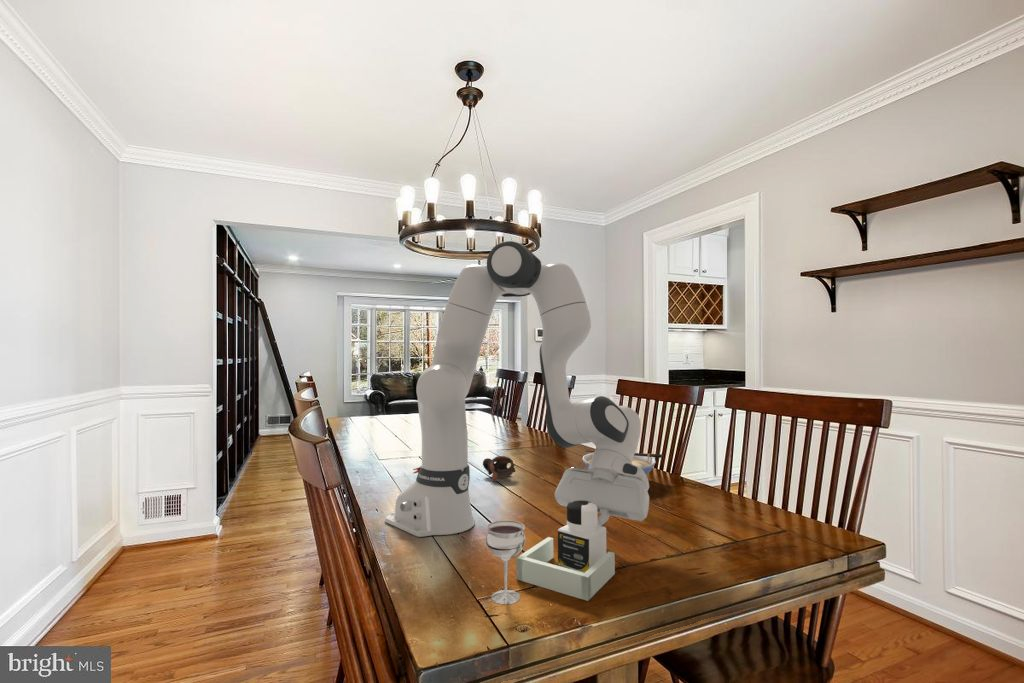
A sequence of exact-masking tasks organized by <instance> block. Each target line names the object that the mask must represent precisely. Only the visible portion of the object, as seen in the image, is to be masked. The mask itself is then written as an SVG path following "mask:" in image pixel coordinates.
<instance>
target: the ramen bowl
mask: <svg viewBox="0 0 1024 683" xmlns="http://www.w3.org/2000/svg"><path fill="white" fill-rule="evenodd" d="M594 451H595V450H585V452H589V453H587V454H585V455H583V456H582V461H583V463H584V465H585V466H586V469H588V468H589V466H590V463H591V460H592V457H593V454H594ZM662 457H663V454H662V453H661V454H659V453H644V452H643V453H642V452H641V453H640V452H635V454H634V455H633V457H632V464H633V465H635V466H638V467H640V468H642V469H643V471H644V473H645V474H646V476H648V474H650V473H651V471H652V469H653V468H654V466H655V464H656V462H657V461H656V459H655V458H659V459H660V458H662Z"/></svg>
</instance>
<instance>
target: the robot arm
mask: <svg viewBox="0 0 1024 683" xmlns="http://www.w3.org/2000/svg"><path fill="white" fill-rule="evenodd" d="M530 295H531V296H532V297H533V298H534V301H535V302H536V305H537V308H538V312H539V315H540V316H539V317H540V320H541V324H542V326H541V328H542V341H541V344H540V347H539V364H540V365H539V366H540V371H541V379H542V385H543V392H544V399H545V405H546V406H545V407H546V422H545V423H546V430H547V433H548V435H549V437H550V439H551V441H553V442H554V444H556V445H557V446H558V447H561V448H563V449H569V448H572V447H577V446H579V445H582V444H588V443H592V444H594V445H595V450H593V451H594V452H593V453H594V454H593V457H592V460H591V463H590V466H589V468H587V467H586V468H583V467H576V466H572V467H571V468H567V469H565V470H564V471H563V474H562V477H561V479H560V481H559V483H558V485H557V486H556V489H555V491H554V498H555V501H556V502H557V503H558V504H559V505H560V506H562V507H566V508H567V505H568V504H569V503H571V502H573V501H579V500H582V501H589V502H591V503H594V504H595V505H596V506H597V512H598V514H600V515H599V517H598V525H599V526H603V525H604V524H605V523H606V522H607V521H609V519H610V516H612V517H617V518H622V519H627V520H633V521H639V522H643V521H644V520H645V519H646V518H647V517H648V513H649V506H650V495H649V492H648V491H649V488H650V483H649V482H650V481H649V479H648V475H646V474H645V473H644V471H643V469H642V468H640V467H638V466H635V465H633V464H632V457H633V455H634V454H635V453H637V452H636V451H637V449H638V445H639V443H640V436H641V426H642V423H641V418H640V416H639V414H638V413H637V412H636V411H635V410H633V409H632V408H630V407H629V406H625V405H617V404H616V403H615V402H614V401H613V400H611V399H610V398H609V397H607V396H601V395H599V396H594V397H589V398H586V399H583V400H580V401H575V402H572V401H571V400H570V395H569V393H570V392H569V387H568V380H567V373H566V372H567V371H566V368H567V364H568V361H569V359H570V358H571V356H572V355H573V354H574V352H575V351H576V350H577V349H579V347H580V346H581V345H582V344H583V343H584V342H585V340H587V337H588V335H589V333H590V331H591V327H592V326H591V325H592V321H591V314H590V312H589V311H590V310H589V307H588V305H587V301H586V297H585V295H584V292H583V290H582V286H581V285H580V282H579V280H578V278H577V276H576V275H575V273H574V271H573V269H572V268H571V267H570V266H569V265H568V264H566V263H560V262H554V263H550V264H549V263H548V264H545V265H543V264H542V261H541V260H540V258H538V257H537V256H536V255H535V254H534V253H533V252H532V251H531V249H529V248H528V247H526V246H525V245H524V244H522V243H521V242H517V241H513V240H505V241H501V242H499V243H497V244H495V245H494V246H493V247H492V249H491V250H490V251H489V253H488V256H487V258H486V265H480V264H470V265H466V266H465V267H464V268H462V269H461V271H460V273H459V275H458V276H457V278H456V279H455V282H454V283H453V287H452V289H451V292H450V294H449V295H448V300H447V303H446V305H445V309H444V312H443V315H442V317H441V318H442V319H441V322H440V324H439V328H438V330H437V333H436V342H435V347H434V352H433V356H432V357H433V358H432V361H431V365H430V366H429V367H427V368H426V369H424V371H423V372H421V374H420V376H419V377H418V380H417V382H416V388H415V389H416V390H415V391H416V397H417V407H418V418H419V424H420V430H421V432H420V433H421V465H420V466H419V467H416V468H413V469H412V471H414V472H412V473H413V474H417V475H416V478H415V481H414V482H412V483H411V484H410V485H409V486H408V487H407V488H405V489H404V490H402V491H401V493H399V494H398V495H397V497H396V501H395V506H394V507H395V508H394V511H392V512H391V513H390V512H389V514H388V515H386V516H385V519H384V522H385V523H386V524H389V525H391V526H393V527H396V528H398V529H400V530H402V531H404V532H406V533H408V534H411V535H413V536H415V537H418V538H420V537H421V538H422V537H428V536H445V535H446V536H447V535H455V534H458V533H459V534H460V533H463V532H465V531H468V530H469V529H472V527H474V525H475V524H476V523H475V519H474V518H475V517H474V515H473V512H472V506H471V500H470V499H471V498H470V497H471V496H470V493H469V492H470V491H469V489H470V488H469V487H470V480H471V479H470V478H471V477H470V476H471V475H470V474H471V472H470V471H471V469H470V464H468V461H469V459H468V457H469V456H468V451H469V450H468V449H469V448H468V447H469V444H468V441H469V440H468V436H469V435H468V433H469V432H468V424H467V414H466V413H467V412H466V398H467V396H468V395H469V392H470V388H471V385H472V383H473V378H474V375H475V372H476V368H477V364H478V360H479V357H480V352H481V348H482V344H483V342H484V339H485V336H486V333H487V329H488V327H489V324H490V320H491V317H492V314H493V309H494V307H495V305H496V302H497V300H498V298H500V297H503V298H505V297H506V298H508V297H517V298H518V297H519V298H520V297H527V296H530Z"/></svg>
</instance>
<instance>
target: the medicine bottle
mask: <svg viewBox="0 0 1024 683" xmlns="http://www.w3.org/2000/svg"><path fill="white" fill-rule="evenodd" d="M598 514H599V513H598V512H597V506H596V505H595V504H594V503H591V502H589V501H582V500H579V501H573V502H571V503H569V504H568V505H567V507H566V525H564V526H561V527H560V528H558V529H557V564H558V565H557V566H561V567H564V568H568V569H572V570H575V571H579V572H583V573H585V572H586V571H587V570H588V569H589V568H591V567H592V566H593V565H594V564H595V563H596V562H597V561H598V560H600V559H601V558H602V557H603V556H604V555H605V554H606V553H607V527H606V526H603V525H602V526H599V525H598V518H599V517H598Z"/></svg>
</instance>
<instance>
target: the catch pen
mask: <svg viewBox="0 0 1024 683" xmlns="http://www.w3.org/2000/svg"><path fill="white" fill-rule="evenodd" d="M615 557H616V555H615V552H613V551H608V552H607V551H606V554H605V555H604V556H603V557H602V558H601V559H600V560H598V561H597V562H596V563H595V564H594V565H593V566H592V567H591V568H589V569H588V570H587V571H586V572H585V573H583V572H579V571H576V570H573V569H570V568H566V567H563V566H560V565H556V564H552V563H550V561H551V560H552V559H554V538H553V537H550V536H547V537H546V538H544V539H543V540H542V541H540V542H538V543H537V544H535V545H534V546H532V547H531V548H529V549H527V550H526V551H525V552H523V553H521V554H520V555H517V556H516V563H515V564H516V565H515V566H516V570H515V571H516V580H518V581H520V582H524V583H528V584H531V585H534V586H537V587H540V588H544V589H547V590H550V591H553V592H557V593H559V594H563V595H566V596H569V597H573V598H577V599H579V600H583V601H586V602H588V601H590V600H591V599H592V598H593V597H594V596H595V594H597V593H598V592H599V590H601V588H603V586H604V585H605V584H606V583H608V581H609V580H611V579H612V577H613V576H615V574H616V571H615V570H616V567H615V566H616V562H615V561H616V560H615V559H616V558H615Z"/></svg>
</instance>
